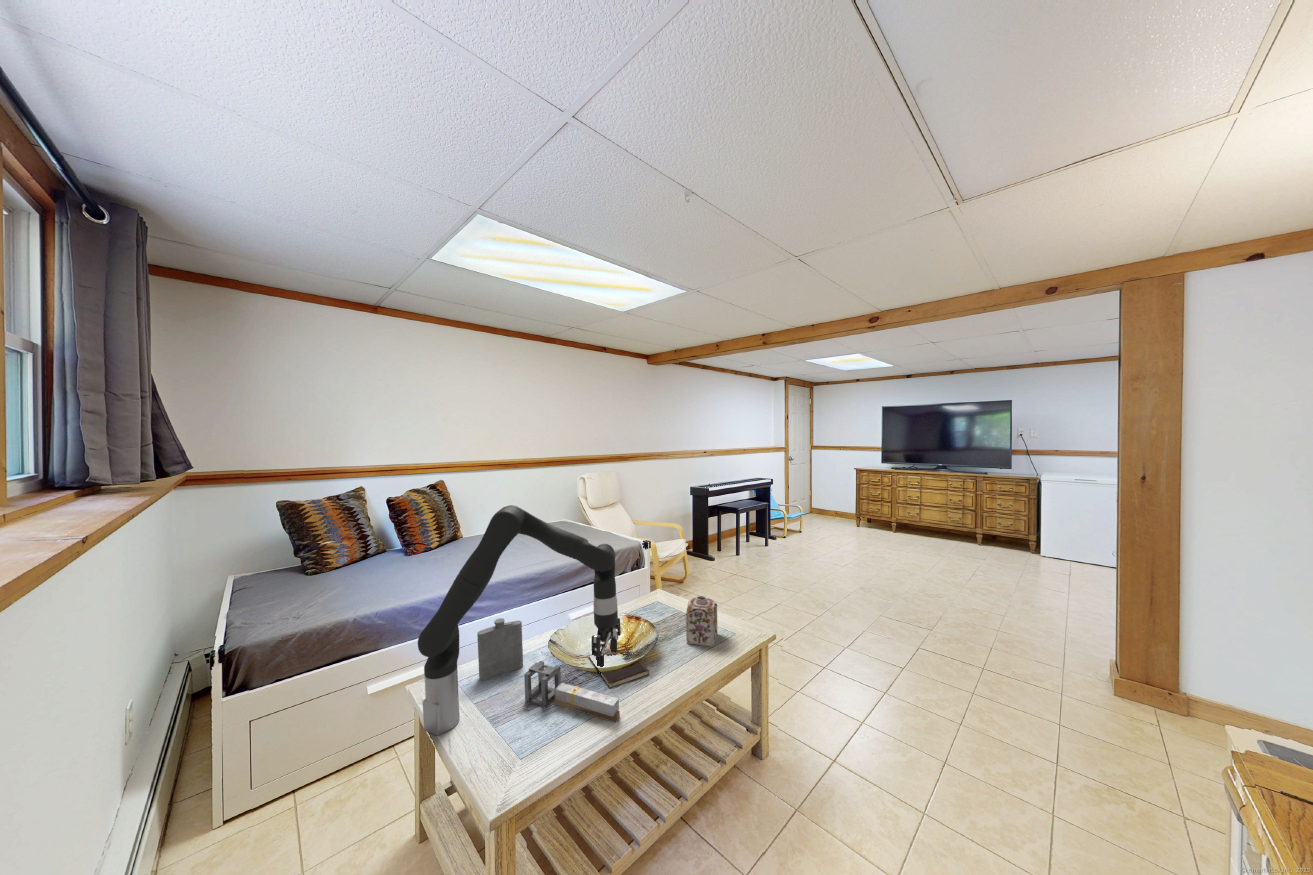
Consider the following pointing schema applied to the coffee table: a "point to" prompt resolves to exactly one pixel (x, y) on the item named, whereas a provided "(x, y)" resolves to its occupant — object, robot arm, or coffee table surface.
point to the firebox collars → (541, 683)
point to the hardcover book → (624, 674)
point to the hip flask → (500, 649)
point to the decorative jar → (701, 621)
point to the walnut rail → (588, 711)
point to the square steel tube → (587, 699)
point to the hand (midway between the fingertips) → (607, 658)
